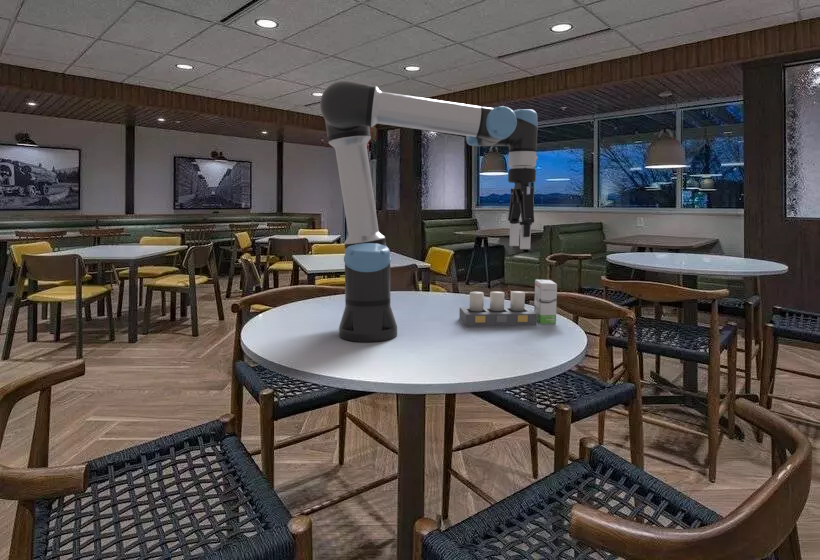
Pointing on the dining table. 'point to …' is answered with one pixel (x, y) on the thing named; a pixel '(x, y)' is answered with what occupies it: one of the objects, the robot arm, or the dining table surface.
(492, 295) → the button mid
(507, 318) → the console
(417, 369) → the dining table surface
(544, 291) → the ink box
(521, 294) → the button right
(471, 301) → the button left
